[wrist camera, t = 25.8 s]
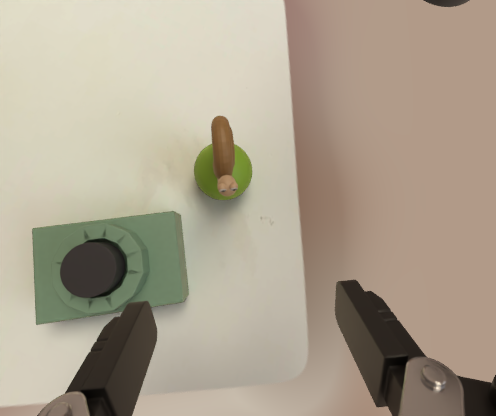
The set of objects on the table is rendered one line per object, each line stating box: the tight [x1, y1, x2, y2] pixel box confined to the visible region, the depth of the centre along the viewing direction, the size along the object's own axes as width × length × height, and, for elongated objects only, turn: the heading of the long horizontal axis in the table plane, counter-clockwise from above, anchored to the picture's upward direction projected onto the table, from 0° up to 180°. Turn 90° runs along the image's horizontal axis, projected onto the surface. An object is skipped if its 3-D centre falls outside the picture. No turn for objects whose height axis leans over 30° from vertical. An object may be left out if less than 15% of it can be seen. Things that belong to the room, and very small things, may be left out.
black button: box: [60, 242, 125, 298], centre depth 20 cm, size 4×4×2 cm
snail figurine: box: [194, 116, 252, 200], centre depth 21 cm, size 5×6×12 cm
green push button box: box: [32, 211, 189, 325], centre depth 23 cm, size 12×8×5 cm, turn 98°
